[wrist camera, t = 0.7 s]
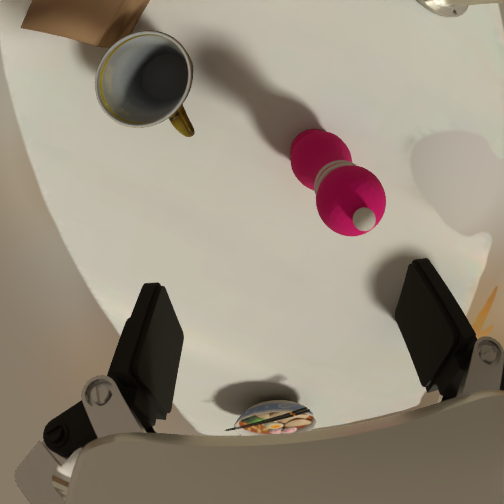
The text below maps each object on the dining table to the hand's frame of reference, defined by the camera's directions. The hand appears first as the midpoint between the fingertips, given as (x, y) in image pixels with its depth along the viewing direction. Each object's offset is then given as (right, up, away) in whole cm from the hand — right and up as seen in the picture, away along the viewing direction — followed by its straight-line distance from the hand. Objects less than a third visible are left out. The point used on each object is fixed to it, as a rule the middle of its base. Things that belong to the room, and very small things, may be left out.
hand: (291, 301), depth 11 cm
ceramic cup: (-11, +23, +21) cm, 33 cm away
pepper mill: (+7, +15, +26) cm, 31 cm away
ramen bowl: (+5, -41, +64) cm, 77 cm away
